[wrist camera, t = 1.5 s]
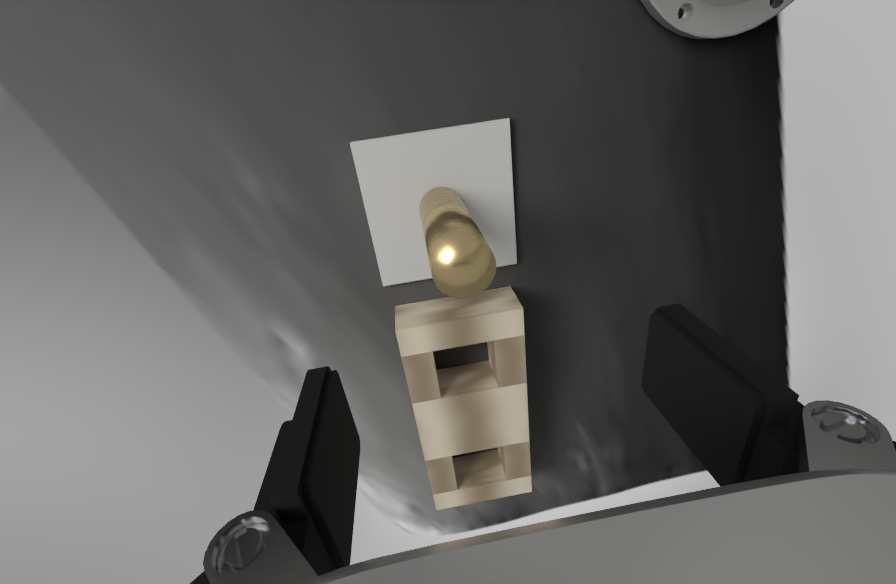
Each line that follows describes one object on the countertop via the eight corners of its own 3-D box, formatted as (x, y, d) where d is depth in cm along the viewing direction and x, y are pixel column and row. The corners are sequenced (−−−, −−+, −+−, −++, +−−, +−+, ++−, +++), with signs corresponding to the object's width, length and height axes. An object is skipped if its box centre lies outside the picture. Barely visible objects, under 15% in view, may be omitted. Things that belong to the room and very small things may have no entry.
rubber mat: (507, 117, 25) (509, 118, 25) (515, 261, 30) (517, 263, 30) (350, 141, 25) (349, 142, 25) (383, 283, 30) (383, 286, 29)
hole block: (510, 286, 31) (523, 308, 28) (521, 460, 40) (531, 491, 37) (395, 305, 31) (395, 330, 28) (433, 477, 40) (436, 510, 37)
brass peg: (460, 183, 26) (494, 233, 18) (465, 226, 28) (498, 292, 19) (415, 190, 26) (426, 244, 18) (423, 233, 28) (436, 303, 19)
